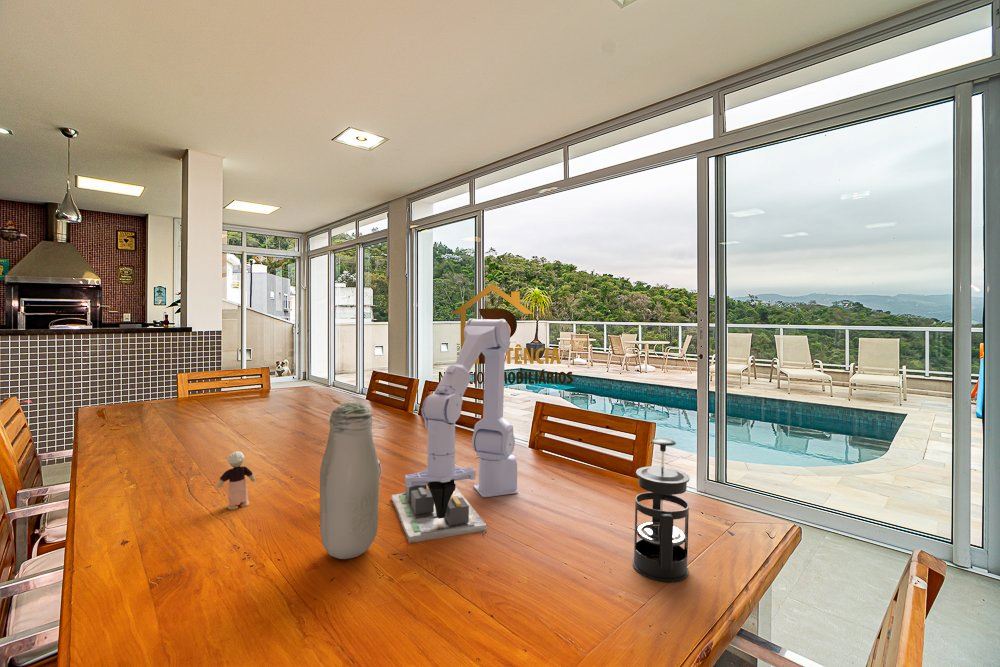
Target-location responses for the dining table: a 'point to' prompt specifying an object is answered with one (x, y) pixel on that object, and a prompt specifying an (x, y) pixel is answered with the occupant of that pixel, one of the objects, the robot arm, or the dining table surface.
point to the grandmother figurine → (236, 481)
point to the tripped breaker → (457, 511)
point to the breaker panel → (433, 521)
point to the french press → (661, 522)
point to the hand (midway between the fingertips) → (440, 516)
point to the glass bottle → (349, 483)
